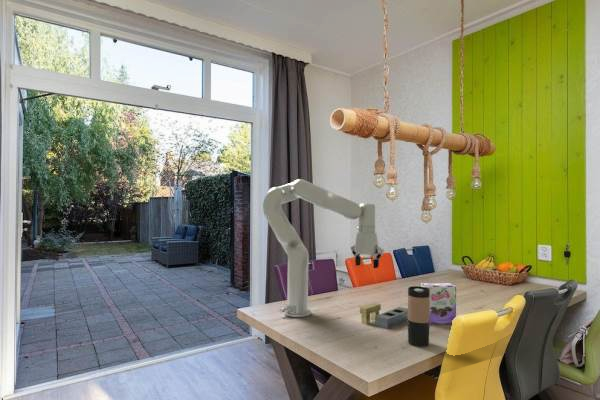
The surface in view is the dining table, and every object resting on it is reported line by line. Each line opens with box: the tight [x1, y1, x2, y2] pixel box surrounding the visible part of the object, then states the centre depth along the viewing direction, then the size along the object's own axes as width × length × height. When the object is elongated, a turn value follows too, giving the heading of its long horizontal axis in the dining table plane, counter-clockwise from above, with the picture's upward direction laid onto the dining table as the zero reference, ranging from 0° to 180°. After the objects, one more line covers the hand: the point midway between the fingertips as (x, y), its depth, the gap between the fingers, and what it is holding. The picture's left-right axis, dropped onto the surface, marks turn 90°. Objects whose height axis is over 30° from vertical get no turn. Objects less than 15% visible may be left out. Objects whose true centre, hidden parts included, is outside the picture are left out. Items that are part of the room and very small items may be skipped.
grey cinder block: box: [374, 306, 408, 330], centre depth 157 cm, size 20×6×4 cm, turn 135°
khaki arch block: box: [359, 302, 382, 325], centre depth 158 cm, size 11×3×6 cm, turn 135°
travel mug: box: [407, 285, 431, 348], centre depth 133 cm, size 8×8×20 cm
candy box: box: [419, 282, 457, 325], centre depth 157 cm, size 14×6×16 cm, turn 94°
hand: (366, 266), depth 169 cm, fingers open, 9 cm apart
